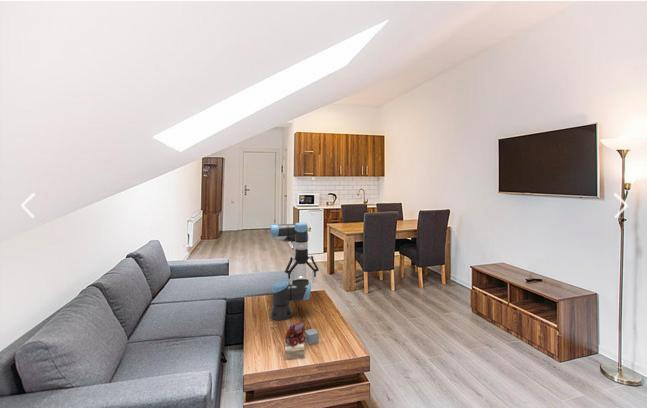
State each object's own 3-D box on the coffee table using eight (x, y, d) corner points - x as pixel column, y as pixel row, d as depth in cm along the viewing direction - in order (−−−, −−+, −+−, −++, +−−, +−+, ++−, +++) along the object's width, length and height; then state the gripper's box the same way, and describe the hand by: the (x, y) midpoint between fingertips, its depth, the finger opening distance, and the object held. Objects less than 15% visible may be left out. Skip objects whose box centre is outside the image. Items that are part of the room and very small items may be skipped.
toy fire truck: (282, 343, 168) (281, 325, 167) (300, 335, 176) (299, 318, 175) (289, 348, 162) (288, 330, 162) (307, 340, 171) (307, 322, 170)
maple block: (284, 345, 176) (284, 336, 175) (302, 343, 177) (302, 335, 177) (285, 360, 161) (285, 351, 160) (304, 358, 162) (304, 349, 162)
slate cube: (305, 340, 179) (304, 330, 179) (314, 338, 182) (314, 328, 181) (309, 345, 174) (308, 335, 174) (318, 342, 177) (318, 333, 176)
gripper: (280, 251, 177) (281, 286, 179) (323, 248, 181) (323, 283, 183) (280, 248, 184) (281, 282, 186) (321, 246, 189) (321, 279, 190)
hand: (302, 283), depth 185 cm, fingers open, 13 cm apart
